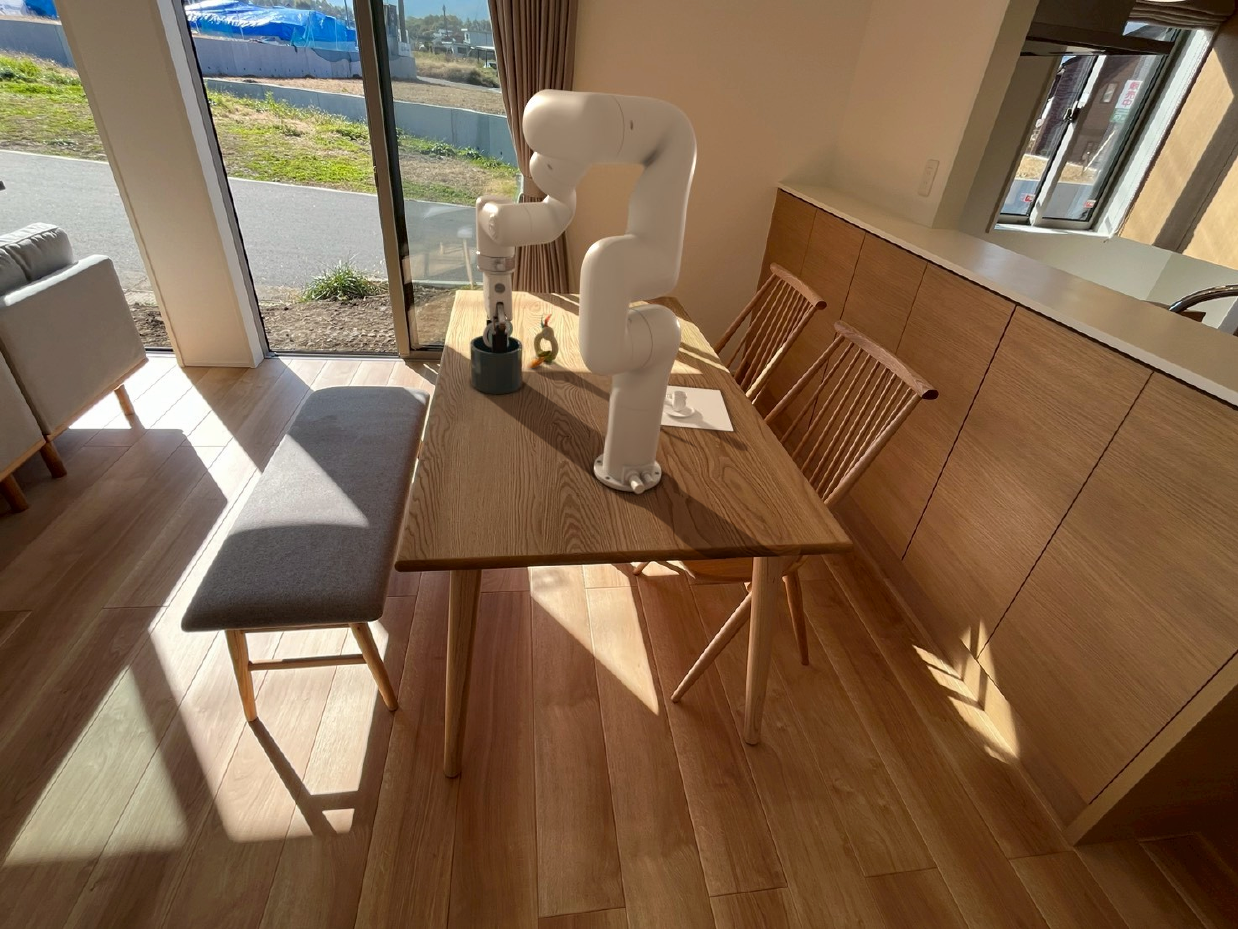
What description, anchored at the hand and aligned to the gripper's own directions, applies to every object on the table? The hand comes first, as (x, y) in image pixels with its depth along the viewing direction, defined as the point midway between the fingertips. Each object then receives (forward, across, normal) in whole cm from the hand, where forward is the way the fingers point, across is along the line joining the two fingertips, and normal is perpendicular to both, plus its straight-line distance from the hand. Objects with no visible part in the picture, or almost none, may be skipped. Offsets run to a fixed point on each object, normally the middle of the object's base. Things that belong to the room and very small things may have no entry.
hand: (496, 343), depth 131 cm
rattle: (+10, +11, -12) cm, 19 cm away
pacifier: (-1, +1, 0) cm, 1 cm away
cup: (+10, 0, 0) cm, 10 cm away
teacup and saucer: (+10, -16, -40) cm, 44 cm away
